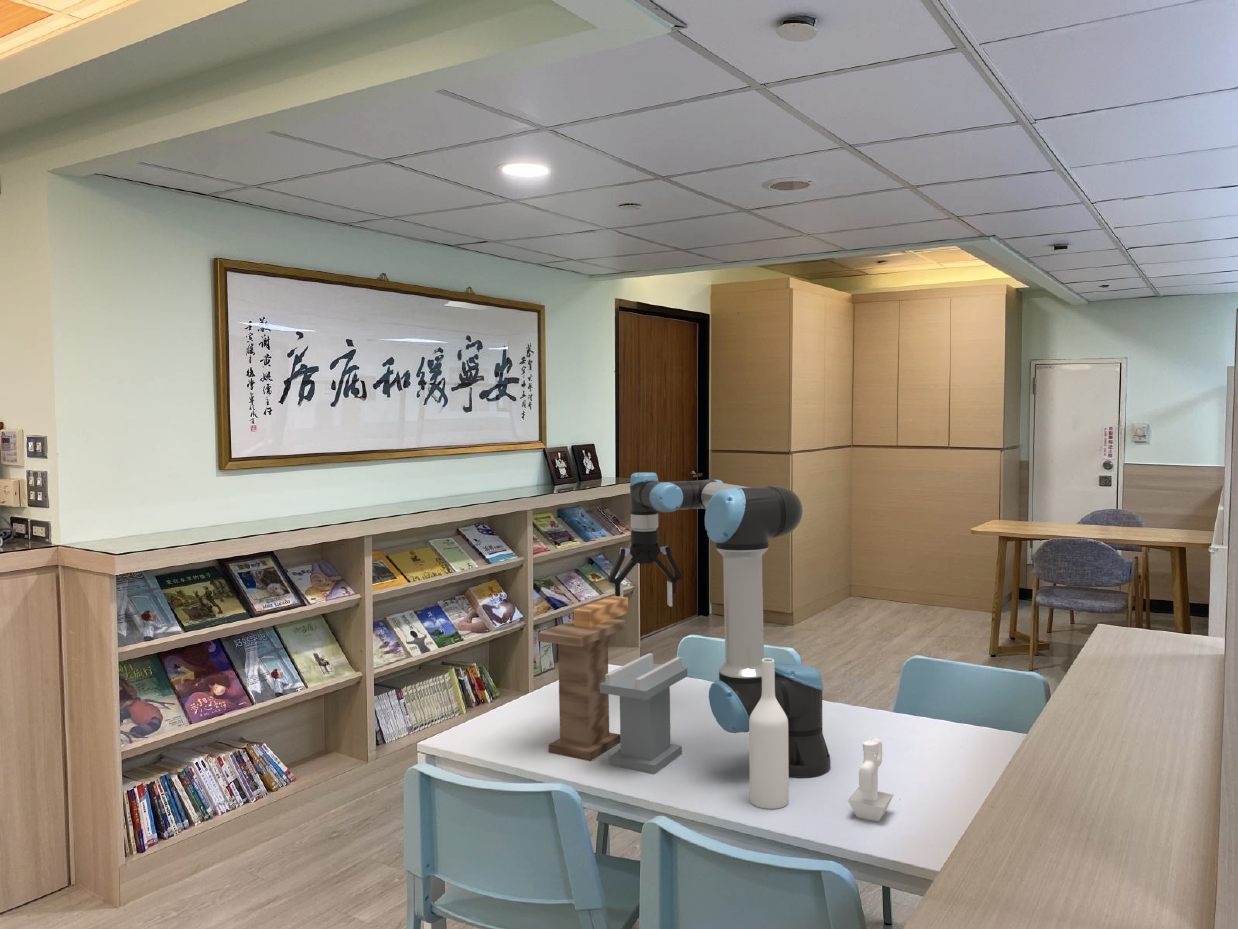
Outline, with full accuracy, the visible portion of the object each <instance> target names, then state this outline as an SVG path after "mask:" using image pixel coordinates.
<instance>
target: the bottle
mask: <svg viewBox="0 0 1238 929" xmlns="http://www.w3.org/2000/svg"><path fill="white" fill-rule="evenodd" d="M775 663H776V662H775V659H774V658H768V657H766V658H765V657H764V659H762V695H761V699H760V700H759V702H758V703H757V705H756V707H755V708H754V710H753V711H752V713H751V715H750V718H749V732H748V740H749V744H748V746H749V747H748V748H749V749H748V750H749V752H748V754H749V757H748V758H749V760H748V761H749V767H748V768H749V801H750V803H751V804H752V805H753V806H755V807H758V808H761V809H766V810H778V809H782V808H784V807H787V805H788V804H789V801H790V800H789V798H790V796H789V795H790V793H789V792H790V790H789V789H790V784H789V780H790V779H789V777H790V776H789V762H788V719H787V716H786V714H785V712H784V711H783V709H782V708H781V706H780V704H779V703H778V701H777V699H776V697H775Z"/></svg>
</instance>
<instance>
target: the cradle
mask: <svg viewBox="0 0 1238 929" xmlns="http://www.w3.org/2000/svg"><path fill="white" fill-rule="evenodd" d="M682 658H683V657H682V656H681V657H680V656H676V657H675V658H672V659H670V660H668V661H667V662H665V663H663V664H660V663H654V653H647V654H644V655H642V656H639V657H638V658H636V659H634V660H632V661H629V662H628V663H626V664H624V665H622V666H619V667H618V668H615V669H614V670H611V671H610V672H608V674H605V682H603V683H601V684H600V693H605V694H609V695H612V696H618V697H619V728H620V729H619V732H620V733H619V734H620V743H619V744H620V749H618V750H617V751H615V752H613V753H612V754H610V755H609V756H608V765H609V766H613V767H617V768H622V769H627V770H633V771H638V772H641V773H648V774H652V775H655V774H657V773H658V772H660V771H661V770H662V769H665V767H667V766H668V765H669V764H670V763H672V762H673V761H674V760H676V759H677V758H679V757H680V756H681V755H682V754H683V746H682V745H679V744H674V743H671V742H672V741H671V689H670V688H671V687H672V686H673V685H675V684H676V683H679V682H680V681H681V680H684V679H685V678H687V677H688V668H687V667H682V665H683V664H682V663H683V662H682V661H683V660H682Z"/></svg>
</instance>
